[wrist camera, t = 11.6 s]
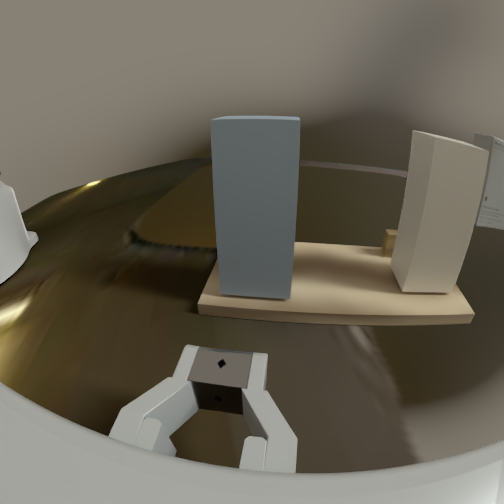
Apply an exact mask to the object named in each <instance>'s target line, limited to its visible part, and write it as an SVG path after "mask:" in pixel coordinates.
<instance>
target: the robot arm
mask: <svg viewBox="0 0 504 504" xmlns="http://www.w3.org/2000/svg"><path fill="white" fill-rule="evenodd" d="M0 174H1V173H0ZM37 241H38V236H37V234H36V233H35V232H30V231H26V228H25V225H24V222H23V219H22V216H21V213H20V210H19V207H18V203H17V200H16V197H15V193H14V190H13V189H12V188H11V187H9V186H7V185H5V184H4V183H3V182H2V181H1V180H0V284H1V283H2V282H4V281H5V280H6V279H8V278H9V277H10V276H11V275H12V274H13V273H15V272H16V271H17V270H18V269H19V268H20V266H21V265H22V264H23V263H24V261H25V260H26V258H27V256H28V254H29V251H30V249H31V247H32V246H33V245H34V244H35V243H36V242H37ZM267 360H268V354H263V353H253V352H242V351H231V350H220V349H213V348H206V347H199V346H193V345H186V346H185V347H184V349H183V352H182V354H181V357H180V359H179V362H178V364H177V367H176V369H175V372H174V374H173V376H172V378H171V377H168V378H166V379H165V380H163V381H162V382H160V383H159V384H158V385H156V386H155V387H153V388H152V389H150V390H149V391H147V392H146V393H144V394H143V395H141V396H140V397H138V398H137V399H135V400H134V401H132V402H131V403H129V404H128V405H126V406H124V407H123V408H121V410H120V412H119V415H118V417H117V419H116V421H115V423H114V425H113V427H112V430H111V432H110V434H109V436H106V435H103V434H101V433H98V432H95V431H93V430H91V429H88V428H86V427H83V426H81V425H79V424H76V423H74V422H72V421H70V420H68V419H66V418H63V417H61V416H59V415H57V414H55V413H53V412H51V411H49V410H47V409H45V408H43V407H42V406H40V405H38V404H36V403H34V402H32V401H31V400H29V399H27V398H25V397H24V396H22V395H20V394H19V393H17V392H15V391H14V390H12V389H10V388H9V387H7V386H6V385H4V384H3V383H1V382H0V504H504V439H501V440H499V441H496V442H494V443H491V444H488V445H485V446H483V447H480V448H477V449H473V450H470V451H467V452H463V453H460V454H457V455H453V456H449V457H445V458H441V459H437V460H432V461H428V462H423V463H418V464H413V465H407V466H401V467H394V468H387V469H379V470H370V471H359V472H344V473H295V470H296V455H297V437H296V436H295V434H294V433H293V431H292V430H291V428H290V427H289V425H288V424H287V422H286V420H285V419H284V417H283V416H282V414H281V412H280V411H279V409H278V408H277V406H276V404H275V403H274V401H273V400H272V398H271V396H270V395H269V393H268V391H265V388H266V376H267ZM198 408H199V409H206V410H213V411H221V412H227V413H233V414H240V415H243V416H244V419H245V421H246V423H247V425H248V427H249V429H250V431H251V433H252V435H253V436H249V437H247V438H246V439H245V442H244V447H243V452H242V457H241V462H240V467H239V468H231V467H224V466H218V465H212V464H207V463H201V462H196V461H191V460H187V459H182V458H178V457H175V455H176V449H175V447H174V445H173V444H172V442H171V440H170V438H169V436H170V435H171V434H172V433H174V432H175V431H176V430H177V429H178V428H179V427H180V426H181V425H182V424H184V423H185V422H186V421H187V420H188V419H189V418H190V417H191V416H192V415H193V414H194V413H195V412H197V411H198Z"/></svg>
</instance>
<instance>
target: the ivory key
mask: <svg viewBox="0 0 504 504" xmlns="http://www.w3.org/2000/svg"><path fill="white" fill-rule="evenodd" d="M488 156H489V151H487V150H484V149H482V148H479V147H476V146H474V145H471V144H468V143H465V142H462V141H458V140H455V139H451V138H447V137H442V136H438V135H434V134H429V133H425V132H419V131H415V130H413V133H412V144H411V153H410V161H409V169H408V176H407V184H406V189H405V195H404V202H403V207H402V212H401V217H400V223H399V228H398V232H397V237H396V241H395V246H394V250H393V254H392V258H391V262H390V267H391V269H392V271H393V273H394V275H395V277H396V279H397V282H398V284H399V286H400V288H401V290H402V292H441V293H452V290H453V288H454V285H455V282H456V280H457V277H458V275H459V272H460V269H461V266H462V263H463V260H464V257H465V254H466V251H467V248H468V245H469V241H470V238H471V235H472V231H473V228H474V224H475V220H476V216H477V212H478V208H479V204H480V200H481V195H482V190H483V185H484V180H485V175H486V169H487V163H488Z"/></svg>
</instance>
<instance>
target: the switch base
mask: <svg viewBox="0 0 504 504" xmlns="http://www.w3.org/2000/svg"><path fill="white" fill-rule="evenodd" d="M397 232H398V230H388V229H385V233H384V238H383V244H382V248H379V247H364V246H350V245H334V244H317V243H302V242H295V243H294V257H293V271H292V283H291V295H290V299H280V298H265V297H252V296H239V295H227V294H220V281H219V268H218V259H217V261H216V263H215V265H214V268H213V270H212V272H211V274H210V277H209V279H208V281H207V283H206V285H205V288H204V290H203V292H202V294H201V297H200V299H199V301H198V311H199V314H201V315H210V316H220V317H230V318H241V319H252V320H265V321H279V322H295V323H314V324H339V325H440V324H463V323H470V322H471V320H472V318H473V316H474V312H473V311H472V309H471V307H470V305H469V304H468V302H467V301H466V300H465V298H464V296H463V294H462V293H461V291H460V290H459V288H458V287H457V285H456V284H455V285H454V288H453V290H452V293H441V292H402V290H401V288H400V286H399V284H398V282H397V279H396V277H395V275H394V273H393V271H392V269H391V267H390V262H391V258H392V254H393V250H394V246H395V241H396V237H397Z"/></svg>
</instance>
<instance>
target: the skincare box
mask: <svg viewBox="0 0 504 504" xmlns="http://www.w3.org/2000/svg"><path fill="white" fill-rule="evenodd" d="M473 145H474V146H476V147H479V148H482V149H484V150H487V151H489V156H488V163H487V169H486V175H485V180H484V185H483V190H482V195H481V200H480V204H479V208H478V212H477V216H476V220H475V224H474V225H475V226H477V227H486V228H494V229H500V230H504V141H503V140H501V139H499V138H496V137H493V136H490V135H485V134H482V133H478V132H474V140H473Z"/></svg>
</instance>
